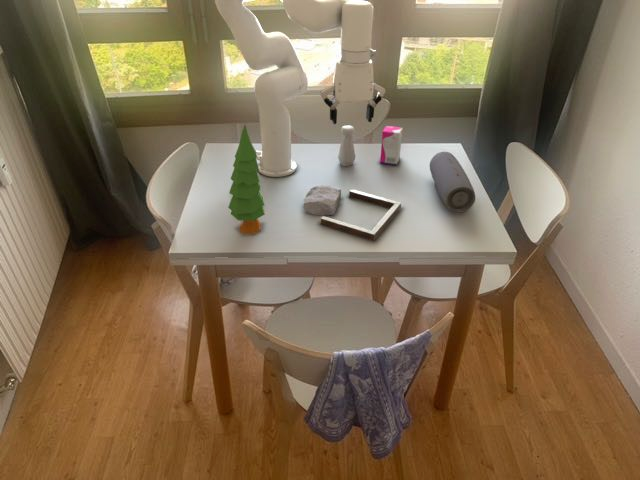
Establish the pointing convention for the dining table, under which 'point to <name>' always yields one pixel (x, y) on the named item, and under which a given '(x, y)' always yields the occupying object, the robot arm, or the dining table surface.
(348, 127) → the salt shaker
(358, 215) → the dining table surface
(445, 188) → the bluetooth speaker
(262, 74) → the robot arm
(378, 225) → the frame
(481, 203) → the dining table surface
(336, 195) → the stone block
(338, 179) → the dining table surface
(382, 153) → the supplement box
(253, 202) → the decorative tree
